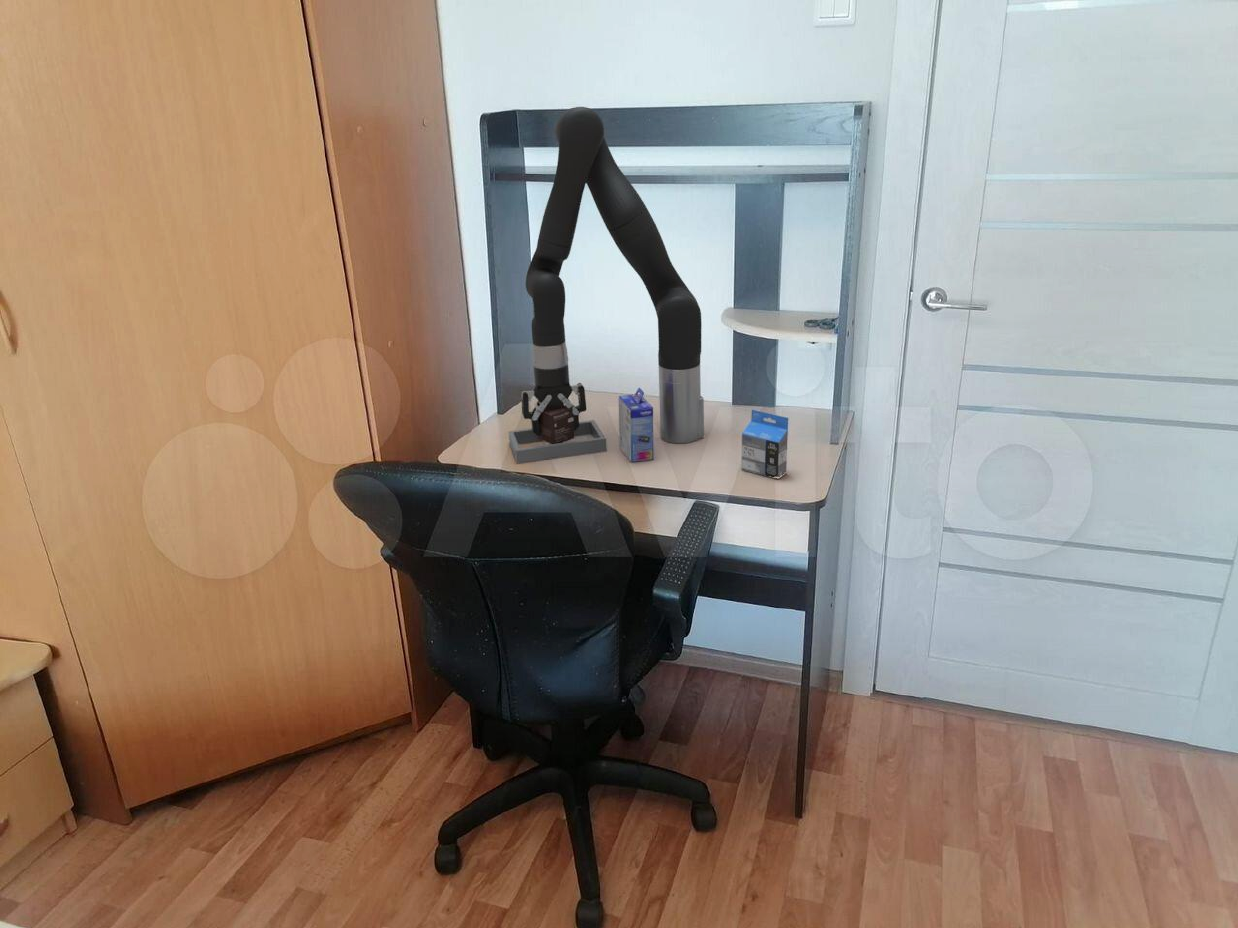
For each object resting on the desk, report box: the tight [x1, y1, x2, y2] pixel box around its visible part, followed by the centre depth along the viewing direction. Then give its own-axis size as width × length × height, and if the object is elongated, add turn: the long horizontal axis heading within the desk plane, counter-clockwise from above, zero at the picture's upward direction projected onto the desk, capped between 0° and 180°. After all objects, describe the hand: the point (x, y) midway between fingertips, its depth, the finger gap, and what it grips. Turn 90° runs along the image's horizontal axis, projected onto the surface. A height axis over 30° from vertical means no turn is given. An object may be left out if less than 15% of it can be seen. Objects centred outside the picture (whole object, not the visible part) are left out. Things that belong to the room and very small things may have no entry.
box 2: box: [507, 419, 608, 464], centre depth 203 cm, size 20×12×3 cm, turn 104°
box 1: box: [538, 404, 576, 445], centre depth 202 cm, size 6×6×7 cm
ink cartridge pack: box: [741, 409, 789, 477], centre depth 185 cm, size 9×4×12 cm, turn 51°
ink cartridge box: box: [618, 387, 655, 463], centre depth 196 cm, size 10×6×14 cm, turn 16°
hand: (556, 432), depth 203 cm, fingers closed on box 1, 8 cm apart
